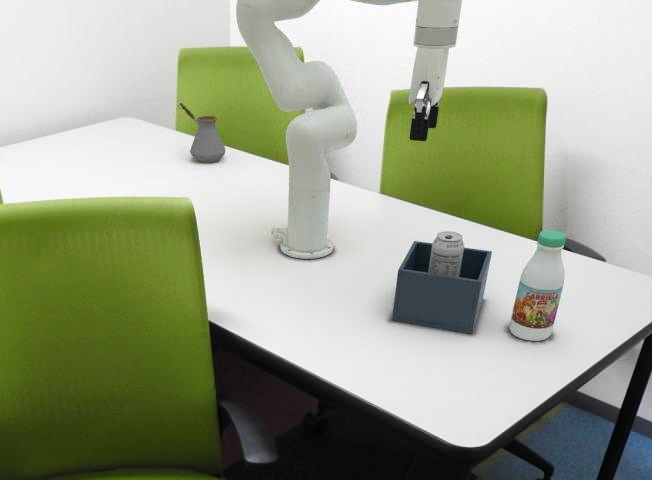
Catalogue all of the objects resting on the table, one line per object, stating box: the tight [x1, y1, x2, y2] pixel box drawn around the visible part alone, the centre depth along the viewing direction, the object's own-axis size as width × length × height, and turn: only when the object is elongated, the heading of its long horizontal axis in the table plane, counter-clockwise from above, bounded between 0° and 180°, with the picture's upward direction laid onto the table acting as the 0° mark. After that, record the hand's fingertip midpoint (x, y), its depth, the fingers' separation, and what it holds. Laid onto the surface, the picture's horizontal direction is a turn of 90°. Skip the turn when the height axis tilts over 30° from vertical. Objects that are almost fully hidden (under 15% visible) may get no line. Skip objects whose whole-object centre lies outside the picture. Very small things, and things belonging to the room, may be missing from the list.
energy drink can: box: [428, 230, 465, 277], centre depth 150 cm, size 6×6×15 cm
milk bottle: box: [509, 229, 567, 342], centre depth 141 cm, size 8×8×20 cm
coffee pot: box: [177, 102, 226, 164], centre depth 244 cm, size 21×12×15 cm, turn 35°
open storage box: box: [391, 240, 493, 335], centre depth 152 cm, size 16×16×11 cm
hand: (423, 133), depth 147 cm, fingers open, 9 cm apart
